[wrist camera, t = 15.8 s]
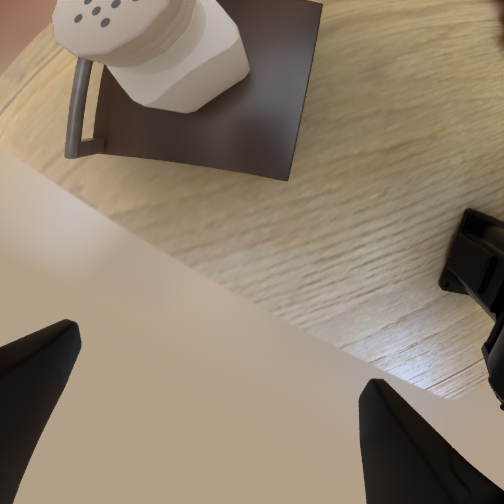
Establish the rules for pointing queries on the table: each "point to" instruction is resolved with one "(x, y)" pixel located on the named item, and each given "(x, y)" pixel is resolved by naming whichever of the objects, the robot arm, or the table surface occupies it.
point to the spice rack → (216, 101)
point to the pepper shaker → (157, 47)
